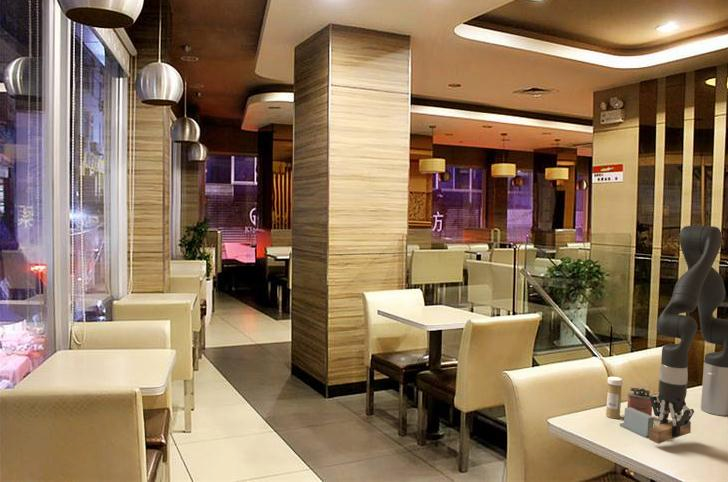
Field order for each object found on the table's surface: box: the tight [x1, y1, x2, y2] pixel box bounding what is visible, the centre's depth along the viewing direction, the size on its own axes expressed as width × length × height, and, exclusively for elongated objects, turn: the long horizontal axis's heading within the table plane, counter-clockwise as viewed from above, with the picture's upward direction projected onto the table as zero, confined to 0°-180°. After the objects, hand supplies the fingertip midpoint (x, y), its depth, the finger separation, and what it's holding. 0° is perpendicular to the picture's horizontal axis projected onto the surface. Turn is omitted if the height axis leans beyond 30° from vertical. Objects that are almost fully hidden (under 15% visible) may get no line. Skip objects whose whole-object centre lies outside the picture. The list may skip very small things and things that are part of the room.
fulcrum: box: [619, 407, 655, 439], centre depth 186 cm, size 5×10×6 cm, turn 24°
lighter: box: [626, 386, 653, 417], centre depth 199 cm, size 8×3×10 cm, turn 71°
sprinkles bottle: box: [605, 376, 623, 420], centre depth 197 cm, size 5×5×13 cm
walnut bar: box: [648, 420, 692, 445], centre depth 176 cm, size 14×3×4 cm, turn 114°
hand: (669, 434), depth 176 cm, fingers closed on walnut bar, 3 cm apart
